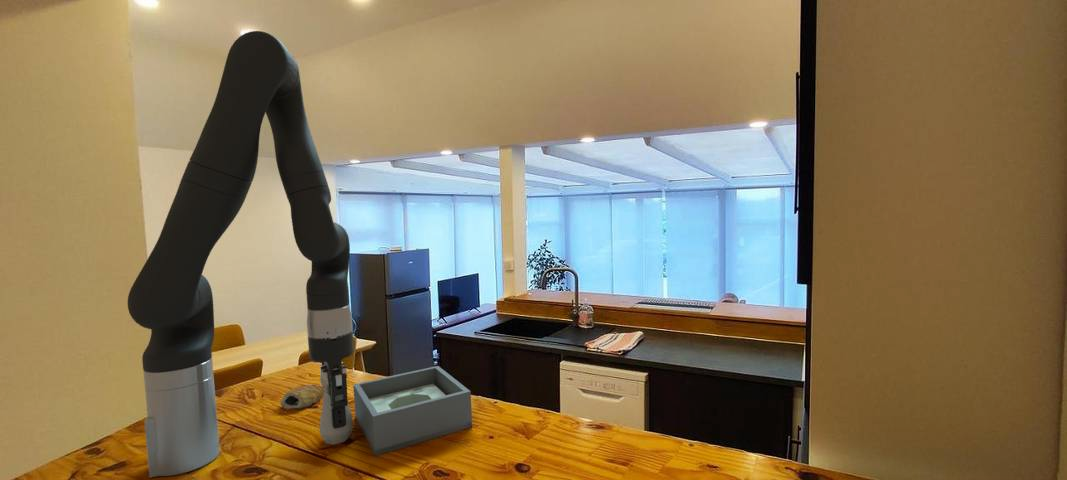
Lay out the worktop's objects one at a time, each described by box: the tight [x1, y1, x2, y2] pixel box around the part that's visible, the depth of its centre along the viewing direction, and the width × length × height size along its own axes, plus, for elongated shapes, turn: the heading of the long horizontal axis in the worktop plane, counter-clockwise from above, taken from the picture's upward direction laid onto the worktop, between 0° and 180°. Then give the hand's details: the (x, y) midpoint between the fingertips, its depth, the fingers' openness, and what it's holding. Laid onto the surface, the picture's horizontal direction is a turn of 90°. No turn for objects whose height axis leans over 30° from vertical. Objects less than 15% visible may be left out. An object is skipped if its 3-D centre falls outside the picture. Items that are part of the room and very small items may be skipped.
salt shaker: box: [319, 373, 354, 446], centre depth 84 cm, size 6×6×13 cm
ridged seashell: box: [280, 383, 325, 410], centre depth 102 cm, size 9×7×4 cm
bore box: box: [352, 365, 473, 457], centre depth 90 cm, size 18×18×7 cm
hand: (336, 419), depth 84 cm, fingers open, 6 cm apart
